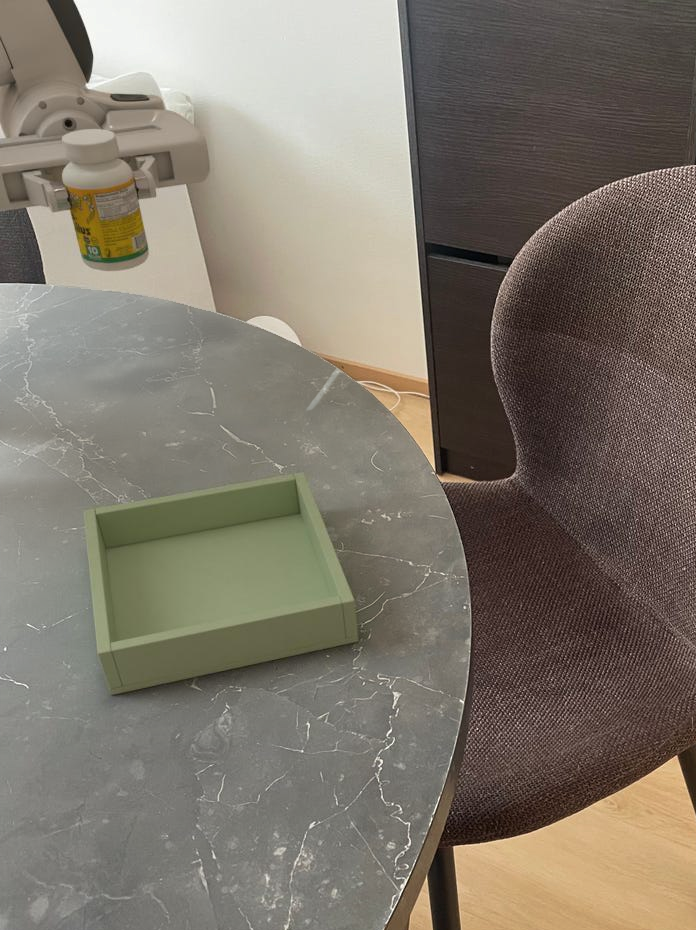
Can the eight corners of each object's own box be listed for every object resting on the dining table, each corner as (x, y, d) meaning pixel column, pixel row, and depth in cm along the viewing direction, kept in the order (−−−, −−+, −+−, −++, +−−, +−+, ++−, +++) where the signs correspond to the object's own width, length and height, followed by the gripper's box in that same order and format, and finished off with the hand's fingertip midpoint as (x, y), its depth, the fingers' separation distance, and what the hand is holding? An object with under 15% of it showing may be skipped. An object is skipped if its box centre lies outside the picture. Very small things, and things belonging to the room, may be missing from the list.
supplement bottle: (158, 264, 86) (134, 140, 79) (93, 278, 83) (63, 151, 77) (138, 242, 89) (112, 121, 83) (74, 255, 87) (44, 131, 80)
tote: (111, 695, 64) (97, 653, 62) (95, 550, 75) (82, 509, 72) (358, 641, 68) (354, 600, 65) (309, 511, 79) (304, 471, 76)
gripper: (-71, 120, 85) (-50, 171, 76) (176, 92, 92) (222, 135, 83) (-46, 199, 89) (-23, 256, 80) (188, 166, 97) (233, 215, 88)
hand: (104, 194), depth 82 cm, fingers closed on supplement bottle, 5 cm apart
